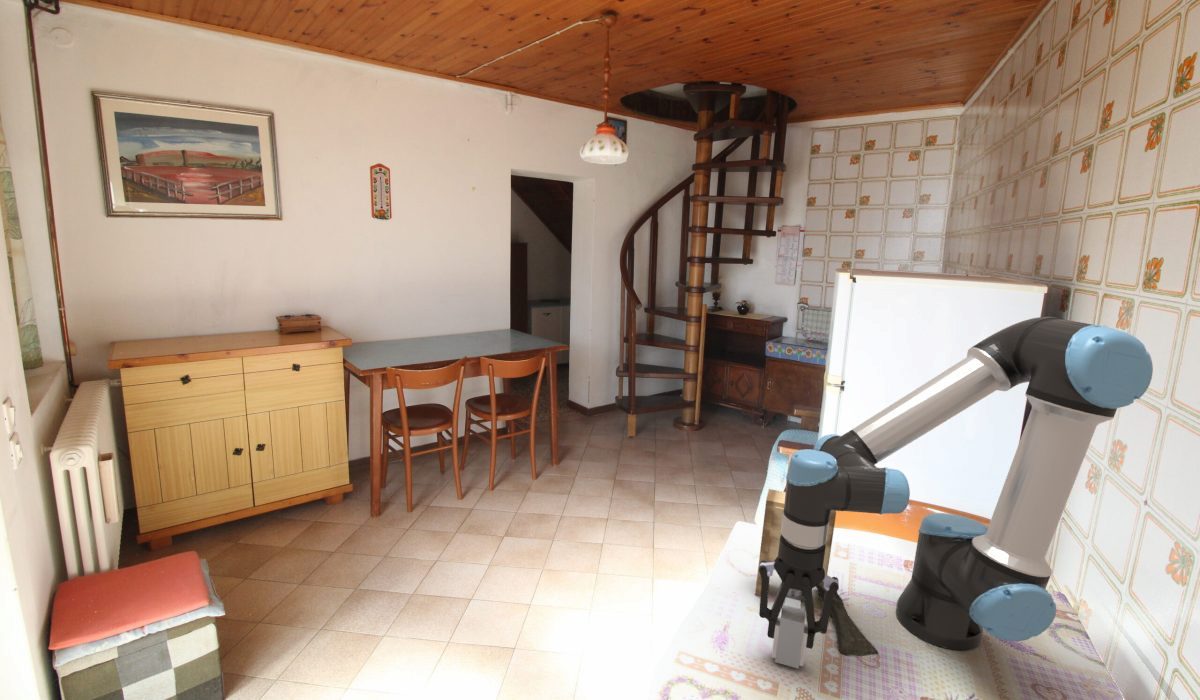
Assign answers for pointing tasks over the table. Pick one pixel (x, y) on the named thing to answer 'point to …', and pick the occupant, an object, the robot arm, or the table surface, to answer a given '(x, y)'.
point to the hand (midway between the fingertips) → (787, 656)
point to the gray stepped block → (790, 633)
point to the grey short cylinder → (796, 595)
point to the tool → (847, 629)
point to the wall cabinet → (773, 534)
